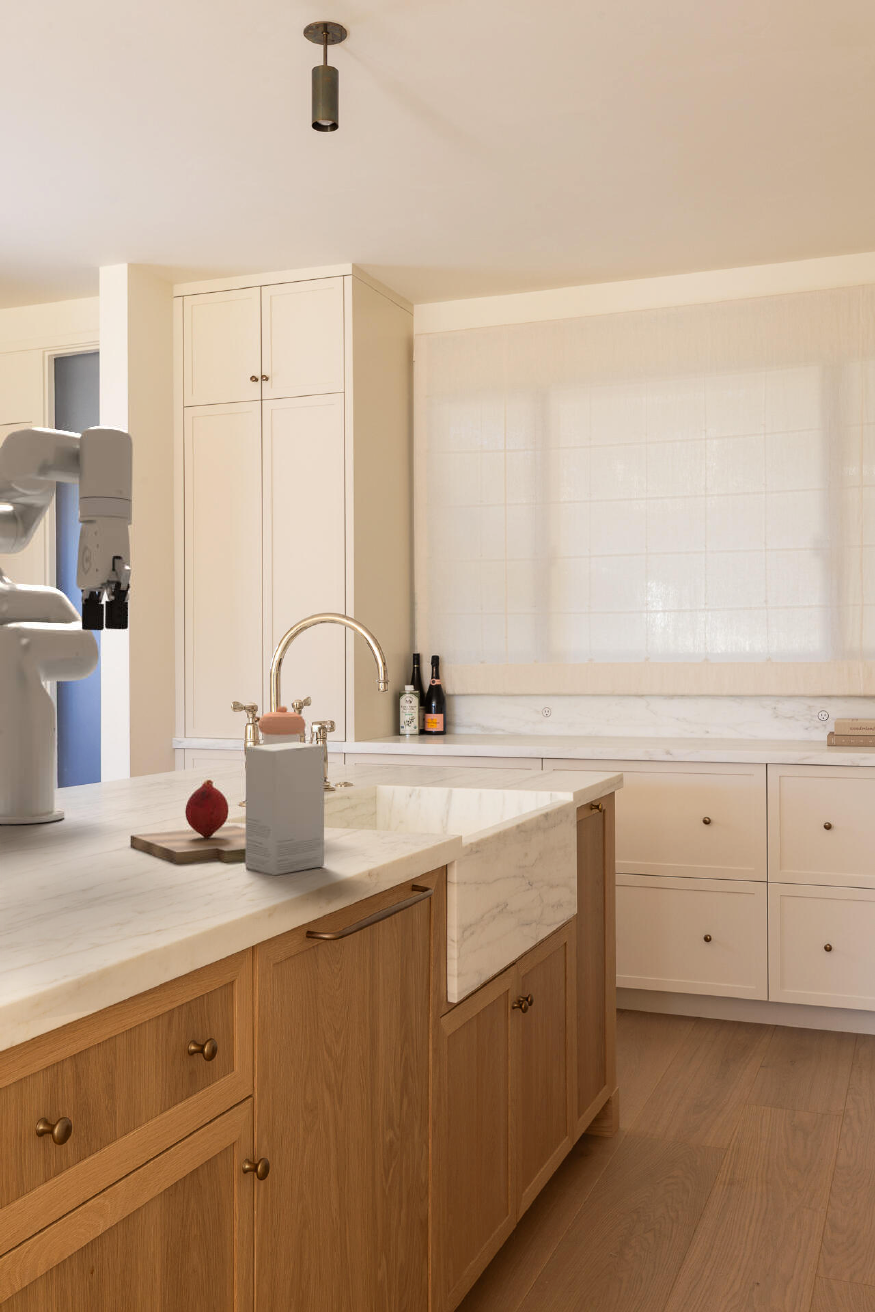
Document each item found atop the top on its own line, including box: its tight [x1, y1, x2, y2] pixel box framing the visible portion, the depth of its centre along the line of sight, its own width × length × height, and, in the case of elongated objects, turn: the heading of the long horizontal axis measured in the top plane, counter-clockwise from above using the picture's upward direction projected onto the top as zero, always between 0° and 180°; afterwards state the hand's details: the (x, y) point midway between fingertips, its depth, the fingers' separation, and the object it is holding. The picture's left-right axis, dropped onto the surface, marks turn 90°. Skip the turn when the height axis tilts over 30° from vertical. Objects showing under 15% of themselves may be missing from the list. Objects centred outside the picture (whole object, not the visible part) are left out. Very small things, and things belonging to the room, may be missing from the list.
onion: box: [184, 779, 229, 838], centre depth 151 cm, size 6×6×8 cm
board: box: [129, 825, 246, 865], centre depth 150 cm, size 18×16×2 cm
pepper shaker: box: [257, 705, 307, 745], centre depth 164 cm, size 7×7×19 cm
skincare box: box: [244, 741, 326, 876], centre depth 138 cm, size 8×7×16 cm
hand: (104, 629), depth 162 cm, fingers open, 9 cm apart
